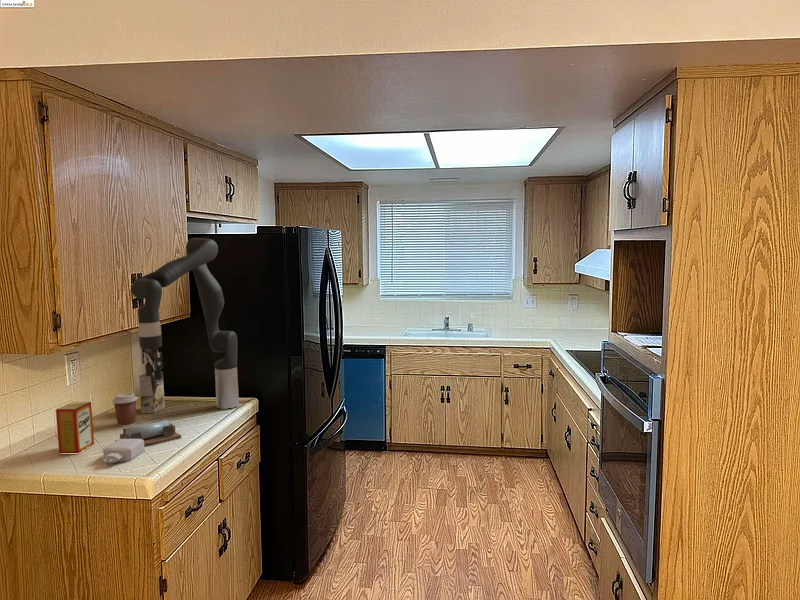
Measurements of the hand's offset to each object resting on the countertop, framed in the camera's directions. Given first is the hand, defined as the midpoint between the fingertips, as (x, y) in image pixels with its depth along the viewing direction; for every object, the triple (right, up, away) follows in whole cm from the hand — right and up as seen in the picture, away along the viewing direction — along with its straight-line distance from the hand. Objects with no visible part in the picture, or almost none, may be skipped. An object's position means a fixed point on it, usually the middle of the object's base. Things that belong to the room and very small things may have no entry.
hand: (153, 377), depth 209 cm
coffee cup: (-18, -21, +18) cm, 33 cm away
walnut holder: (-1, -22, -3) cm, 22 cm away
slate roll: (-1, -21, -3) cm, 21 cm away
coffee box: (-16, -19, +37) cm, 45 cm away
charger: (-2, -24, -21) cm, 32 cm away
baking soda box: (-22, -24, -10) cm, 34 cm away
